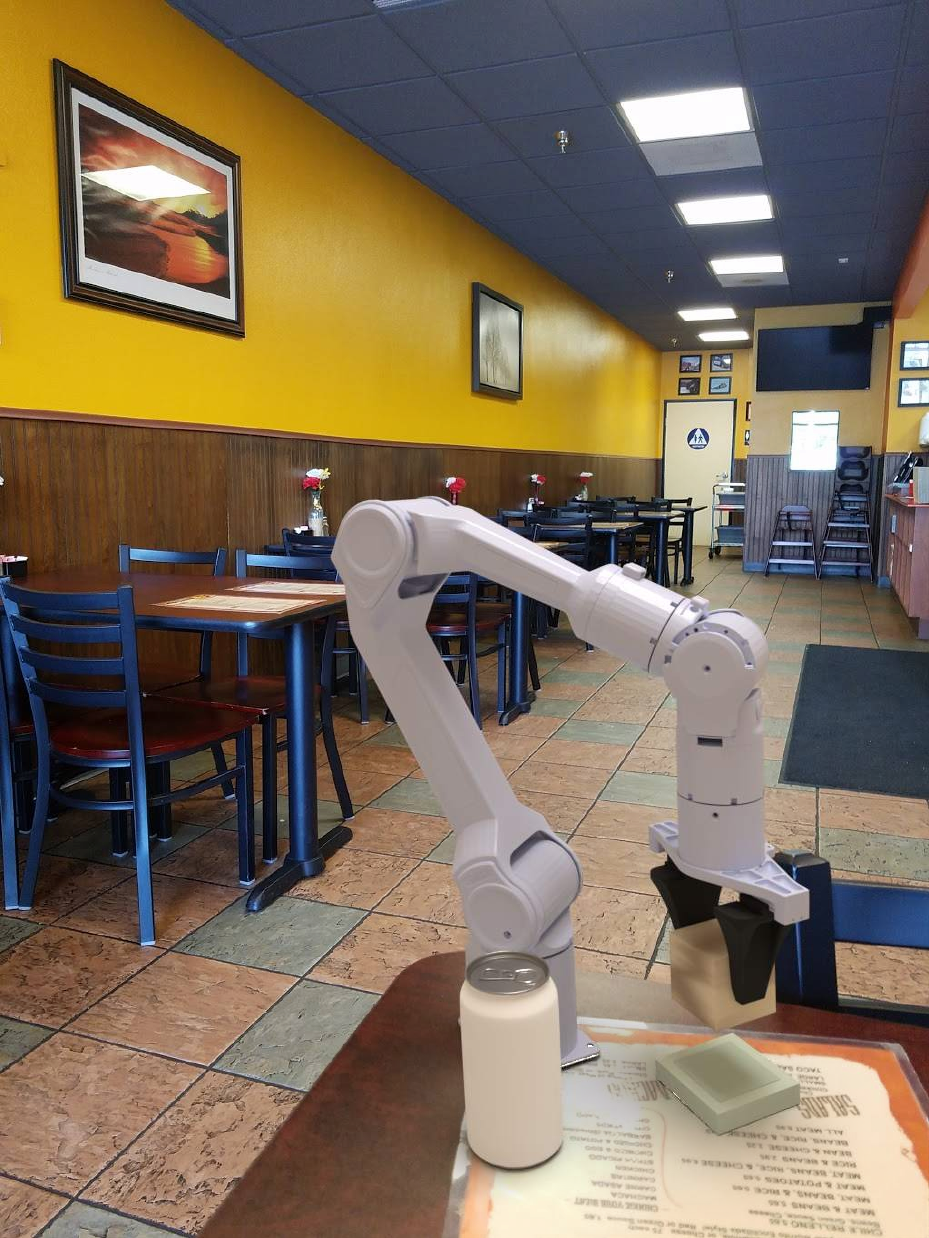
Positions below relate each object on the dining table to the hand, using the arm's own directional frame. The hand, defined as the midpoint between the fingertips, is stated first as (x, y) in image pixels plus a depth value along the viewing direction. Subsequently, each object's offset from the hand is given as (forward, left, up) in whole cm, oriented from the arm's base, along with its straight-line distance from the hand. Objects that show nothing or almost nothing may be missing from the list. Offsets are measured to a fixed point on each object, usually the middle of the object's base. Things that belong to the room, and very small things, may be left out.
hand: (723, 980), depth 66 cm
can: (-3, -15, -9) cm, 18 cm away
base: (0, 0, -8) cm, 8 cm away
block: (0, 0, -2) cm, 2 cm away
